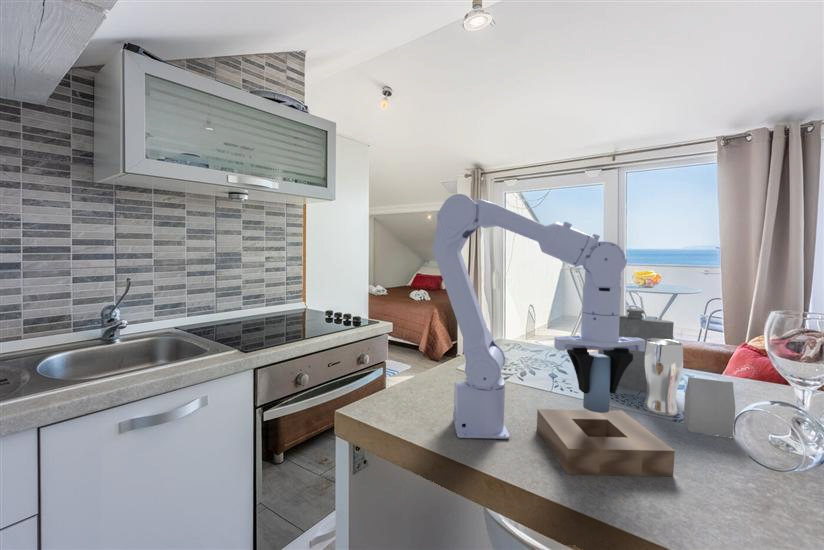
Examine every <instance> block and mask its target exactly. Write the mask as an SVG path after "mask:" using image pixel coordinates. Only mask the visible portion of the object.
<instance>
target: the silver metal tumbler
mask: <svg viewBox="0 0 824 550" xmlns="http://www.w3.org/2000/svg"><path fill="white" fill-rule="evenodd" d="M683 368H684V344H683V343H682V342H679V341H676V340H674V339H673V340H667V339H658V338H650V339H646V345H645V352H644V372H645V379H646V386H647V392H645V393H646V395H645V400H644V402H643V408H644V409H645V411H648V412H650V413H653V414H656V415H659V416H664V417H675V416H677V415H678V406H677V393H678V389H679V385H680V382H681V379H682V374H683V370H684V369H683Z"/></svg>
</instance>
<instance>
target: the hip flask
mask: <svg viewBox="0 0 824 550" xmlns="http://www.w3.org/2000/svg"><path fill="white" fill-rule="evenodd" d="M626 312H627V313H628V314H627V315H625V314H624V315H621V314H620V321H619V337H630V338H640V339H643V340H645V345H646V339H650V338H658V339H667V340H673V341H674V339H673V338H674V323H675V322H674V321H671V320H665V319H664V320H663V319H650V318H643V315H644V312H645V311H644V309H640V308H626ZM597 352H598V353H597V354H602V355H604V352H603V350H597ZM629 353H631V354H633V361H632V362H631V363H630V364H629V365H628V367H627V368H626V370H625V371H624V373H623V375H622V377H621V379H620V382H619V384H618V387H620V388H625V389H628V390H630V389H631V390H635V391H640V392H645V393H647V386H646V379H645V372H644V352H640V351H637V350H629Z"/></svg>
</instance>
